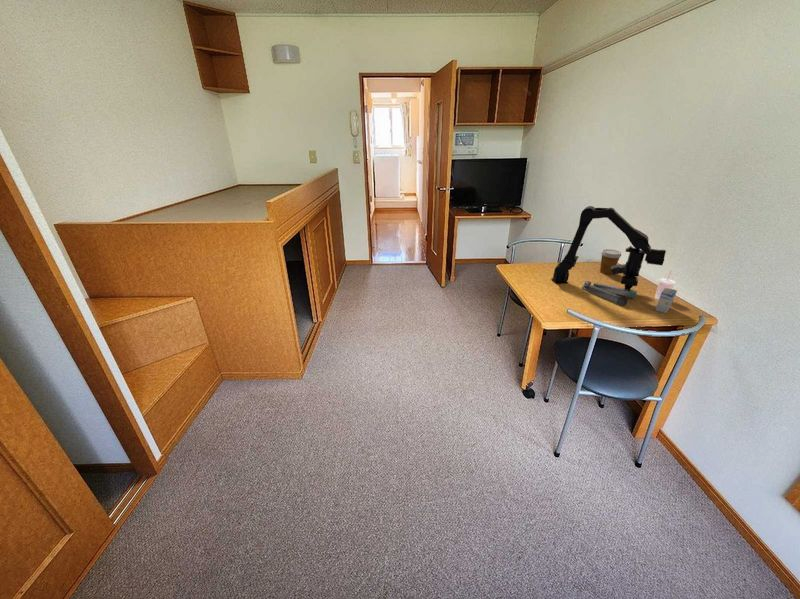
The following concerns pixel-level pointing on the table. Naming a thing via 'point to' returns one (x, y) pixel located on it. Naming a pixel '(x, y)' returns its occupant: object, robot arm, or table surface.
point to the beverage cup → (664, 285)
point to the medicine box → (665, 300)
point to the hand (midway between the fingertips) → (625, 291)
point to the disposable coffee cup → (609, 260)
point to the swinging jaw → (616, 290)
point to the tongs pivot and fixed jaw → (605, 294)
